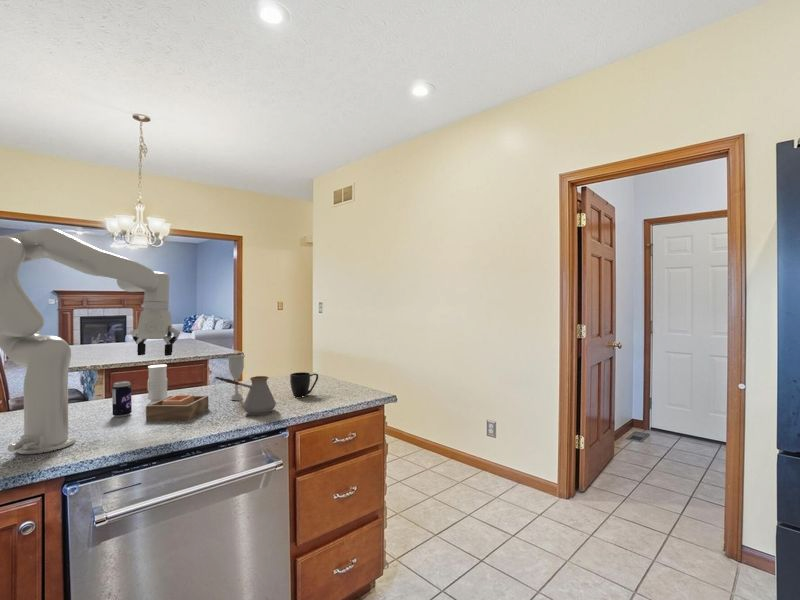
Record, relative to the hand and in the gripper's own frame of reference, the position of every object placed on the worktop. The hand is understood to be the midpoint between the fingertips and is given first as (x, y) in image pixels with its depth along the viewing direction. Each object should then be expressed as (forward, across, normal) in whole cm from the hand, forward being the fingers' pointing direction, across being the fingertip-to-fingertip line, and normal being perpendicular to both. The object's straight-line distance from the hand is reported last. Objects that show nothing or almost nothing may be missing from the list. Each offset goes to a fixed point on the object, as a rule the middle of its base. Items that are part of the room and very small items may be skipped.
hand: (154, 355), depth 144 cm
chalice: (+21, +18, +27) cm, 38 cm away
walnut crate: (+22, +7, +4) cm, 23 cm away
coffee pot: (+22, +32, +4) cm, 39 cm away
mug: (+20, +45, +34) cm, 60 cm away
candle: (+22, -12, +21) cm, 32 cm away
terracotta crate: (+21, +7, +4) cm, 22 cm away
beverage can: (+22, -13, +3) cm, 26 cm away
